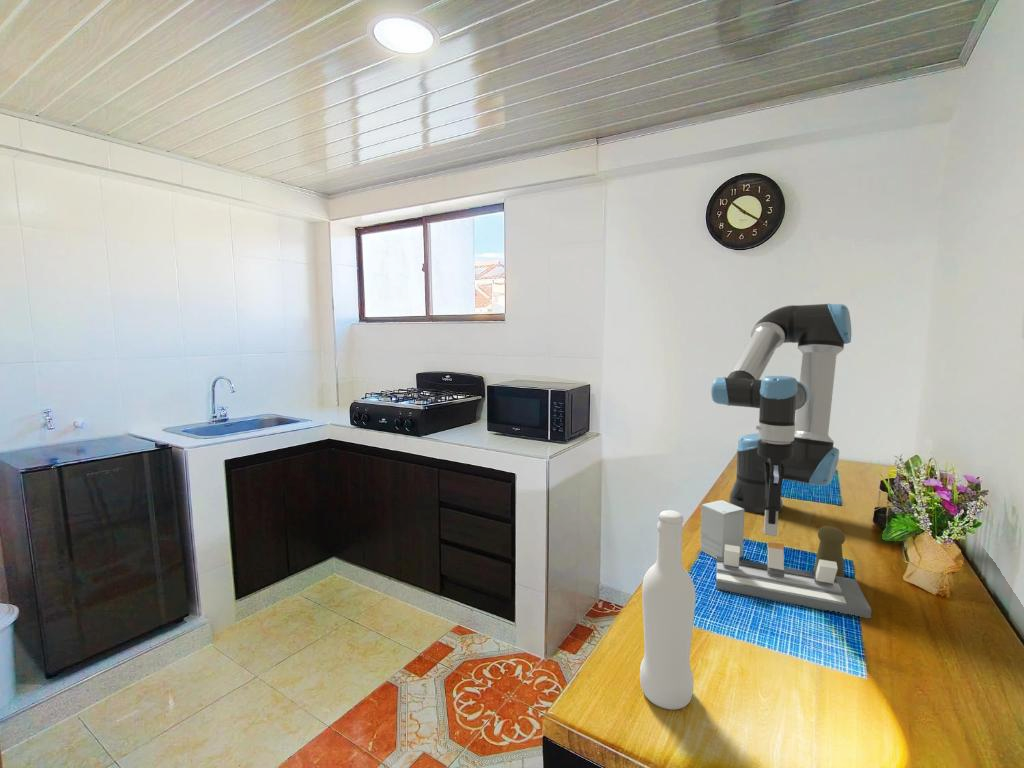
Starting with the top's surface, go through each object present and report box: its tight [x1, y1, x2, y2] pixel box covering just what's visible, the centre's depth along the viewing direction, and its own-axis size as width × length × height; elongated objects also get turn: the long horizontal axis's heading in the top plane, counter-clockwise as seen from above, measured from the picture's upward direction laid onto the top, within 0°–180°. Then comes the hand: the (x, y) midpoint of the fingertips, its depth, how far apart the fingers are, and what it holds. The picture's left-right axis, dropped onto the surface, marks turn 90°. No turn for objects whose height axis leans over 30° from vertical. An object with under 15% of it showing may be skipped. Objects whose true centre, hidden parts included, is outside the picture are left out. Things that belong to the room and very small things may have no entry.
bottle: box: [639, 509, 697, 711], centre depth 73 cm, size 8×8×30 cm
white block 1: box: [723, 544, 740, 569], centre depth 106 cm, size 2×3×7 cm
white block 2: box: [814, 559, 838, 585], centre depth 98 cm, size 2×3×7 cm
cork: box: [812, 525, 846, 577], centre depth 108 cm, size 6×6×11 cm
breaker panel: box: [715, 556, 872, 619], centre depth 103 cm, size 12×28×2 cm, turn 66°
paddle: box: [766, 541, 785, 577], centre depth 104 cm, size 2×3×7 cm, turn 66°
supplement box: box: [700, 499, 745, 560], centre depth 118 cm, size 7×7×13 cm
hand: (770, 534), depth 114 cm, fingers closed
